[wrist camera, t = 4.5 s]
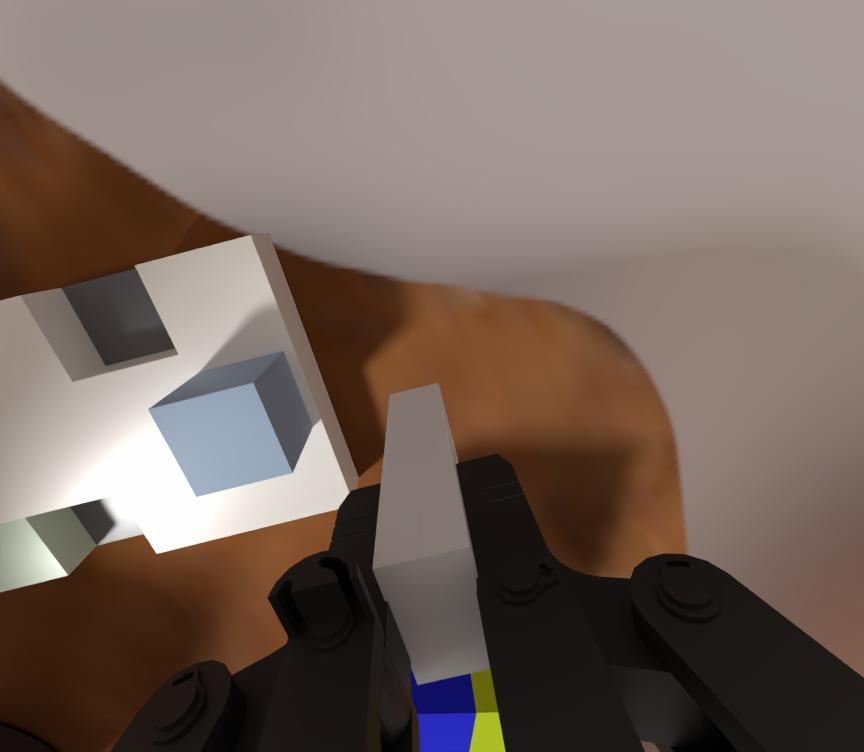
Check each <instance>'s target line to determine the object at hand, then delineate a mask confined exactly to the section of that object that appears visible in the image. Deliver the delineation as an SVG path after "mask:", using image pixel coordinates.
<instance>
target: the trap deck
mask: <svg viewBox="0 0 864 752" xmlns="http://www.w3.org/2000/svg"><path fill="white" fill-rule="evenodd" d="M135 267H136V268H135V269H131V270H127V271H123V272H120V273H116V274H112V275H108V276H104V277H100V278H97V279H93V280H89V281H85V282H81V283H78V284H74V285H70V286H66V287H62V288H57V289H52V290H46V291H41V292H36V293H30V294H25V295H20V296H16V297H12V298H8V299H4V300H0V592H4V591H8V590H12V589H16V588H20V587H24V586H28V585H32V584H36V583H40V582H44V581H48V580H52V579H56V578H60V577H64V576H68V575H69V574H70V573H71V572H72V571H73V570H74V569H75V568H76V567H77V566H78V565H79V564H80V563H81V562H82V561H83V560H84V559H85V558H86V556H87V555H88V554H89V553H90V552H91V551H92V550H93V549H94V548H95V547H96V546H97V545H101V544H105V543H109V542H113V541H117V540H121V539H125V538H129V537H133V536H137V535H141V534H145V536H146V538H147V539H148V541H149V542H150V544H151V545H152V547H153V549H154V550H155V552H156V553H157V554H158V553H162V552H166V551H170V550H174V549H178V548H182V547H186V546H190V545H194V544H198V543H202V542H206V541H210V540H214V539H219V538H223V537H227V536H231V535H235V534H239V533H243V532H247V531H251V530H255V529H259V528H263V527H267V526H271V525H275V524H279V523H283V522H287V521H291V520H296V519H300V518H304V517H308V516H312V515H316V514H320V513H324V512H328V511H332V510H336V509H339V506H340V505H341V504H342V502H343V501H344V500H345V498H346V497H347V495H348V494H349V493H350V491H351V490H355V489H357V485H358V479H359V477H358V474H357V472H356V469H355V466H354V463H353V461H352V458H351V455H350V452H349V450H348V447H347V444H346V442H345V439H344V436H343V433H342V431H341V428H340V425H339V422H338V420H337V417H336V414H335V412H334V409H333V406H332V403H331V401H330V398H329V395H328V392H327V390H326V387H325V384H324V382H323V379H322V376H321V373H320V371H319V368H318V365H317V362H316V360H315V357H314V354H313V352H312V349H311V346H310V343H309V341H308V338H307V335H306V332H305V330H304V327H303V324H302V322H301V319H300V316H299V313H298V311H297V308H296V305H295V302H294V300H293V297H292V294H291V292H290V289H289V286H288V283H287V281H286V278H285V275H284V272H283V270H282V267H281V264H280V262H279V259H278V256H277V253H276V251H275V248H274V245H273V242H272V240H271V237H270V234H257V235H248V236H245V237H241V238H237V239H233V240H229V241H226V242H222V243H218V244H214V245H210V246H207V247H203V248H199V249H195V250H191V251H187V252H184V253H180V254H176V255H172V256H168V257H165V258H161V259H157V260H153V261H149V262H145V263H142V264H138V265H135ZM280 351H284V354H285V356H286V359H287V361H288V364H289V366H290V369H291V371H292V374H293V376H294V379H295V382H296V384H297V387H298V389H299V392H300V394H301V397H302V399H303V402H304V404H305V407H306V409H307V412H308V415H309V417H310V420H311V422H312V425H313V428H312V430H311V433H310V435H309V437H308V439H307V442H306V444H305V446H304V448H303V451H302V453H301V455H300V458H299V460H298V462H297V464H296V467H295V469H294V471H293V473H291V474H287V475H283V476H279V477H275V478H271V479H267V480H263V481H259V482H255V483H251V484H247V485H243V486H239V487H235V488H231V489H227V490H223V491H219V492H215V493H211V494H207V495H203V496H199V497H196V496H195V494H194V492H193V490H192V489H191V487H190V485H189V483H188V481H187V479H186V478H185V476H184V474H183V472H182V470H181V469H180V467H179V465H178V463H177V461H176V460H175V458H174V456H173V454H172V452H171V450H170V449H169V447H168V445H167V443H166V441H165V440H164V438H163V436H162V434H161V432H160V430H159V429H158V427H157V425H156V423H155V421H154V420H153V418H152V416H151V414H150V412H149V411H148V409H149V408H151V407H152V406H153V405H155V404H156V403H157V402H159V401H160V400H162V399H163V398H164V397H166V396H167V395H168V394H170V393H171V392H173V391H174V390H175V389H177V388H178V387H179V386H181V385H182V384H184V383H185V382H186V381H188V380H189V379H191V378H192V377H193V376H195V375H196V374H197V373H199V372H202V371H206V370H210V369H214V368H218V367H222V366H226V365H229V364H233V363H237V362H241V361H245V360H249V359H253V358H257V357H261V356H265V355H269V354H272V353H276V352H280Z"/></svg>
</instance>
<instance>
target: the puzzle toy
mask: <svg viewBox="0 0 864 752" xmlns="http://www.w3.org/2000/svg"><path fill="white" fill-rule="evenodd" d="M411 698H412V700H413V703H414V705H415V708H416V711H417V716H418V721H419V737H420V752H505V747H504V741H503V736H502V730H501V725H500V719H499V714H498V708H497V703H496V697H495V692H494V687H493V681H492V676H491V670H490V669H487V670H483V671H478V672H474V673H469V674H465V675H460V676H456V677H451V678H447V679H443V680H438V681H434V682H429V683H425V684H420V685H418V684H417V682H416V679H415V677H414V674H413V672H412V669H411Z"/></svg>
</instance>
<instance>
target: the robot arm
mask: <svg viewBox="0 0 864 752" xmlns="http://www.w3.org/2000/svg"><path fill="white" fill-rule="evenodd" d="M268 599H269V601H270V603H271V605H272V607H273V609H274V611H275V613H276V614H277V616H278V618H279V620H280V622H281V624H282V626H283V627H284V629H285V631H286V633H287V635H288V637H289V638H288V641H287V644H285V645H284V646H283V647H281V648H280V649H278V650H277V651H275V652H273V653H272V654H270V655H268V656H267V657H265V658H263V659H261V660H259V661H257V662H255V663H254V664H252V665H250V666H248V667H246V668H244V669H243V670H241V671H239V672H237V673H235V674H233V675H231V673H230V671H229V670H228V668H227V667H226V665H225V664H223V663H220V662H217V661H214V660H210V661H204V662H199V663H195V664H194V665H192V666H190V667H188V668H186V669H184V670H182V671H180V672H178V673H177V674H176V675H174V676H173V677H172V678H171V679H169V680H168V681H167V682H166V683H165V684H163V685H162V686H161V687H160V688H158V690H157V691H156V692H155V693H154V694H153V695H152V697H151V698H150V699H149V700H148V701H147V702H146V704H145V705H144V706H143V707H142V708H141V709H140V711H139V712H138V714H137V715H136V716H135V718H134V719H133V721H132V722H131V723H130V725H129V726H128V728H127V729H126V730H125V732H124V733H123V735H122V736H121V737H120V739H119V740H118V742H117V743H116V744H115V746H114V747H113V748H112V750H111V751H110V752H420V737H419V721H418V716H417V711H416V708H415V705H414V703H413V700H412V698H411V669H412V672H413V674H414V677H415V679H416V682H417V684H418V685H420V684H425V683H429V682H434V681H438V680H443V679H447V678H451V677H456V676H460V675H465V674H469V673H474V672H478V671H483V670H487V669H490V670H491V676H492V681H493V687H494V692H495V697H496V703H497V708H498V714H499V719H500V725H501V730H502V736H503V741H504V747H505V752H645V751H644V748H643V746H642V744H641V742H640V740H641V741H646V742H651V743H655V745H656V747H657V748H658V750H659V751H660V752H864V678H863V677H862V676H860V675H859V674H858V673H857V672H855V671H854V670H853V669H851V668H850V667H849V666H848V665H846V664H845V663H844V662H842V661H841V660H840V659H838V658H837V657H836V656H835V655H833V654H832V653H831V652H829V651H828V650H827V649H826V648H824V647H823V646H822V645H820V644H819V643H818V642H817V641H815V640H814V639H813V638H811V637H810V636H809V635H807V634H806V633H805V632H803V631H802V630H801V629H800V628H798V627H797V626H796V625H794V624H793V623H792V622H790V621H789V620H788V619H787V618H785V617H784V616H783V615H781V614H780V613H779V612H777V611H776V610H775V609H774V608H772V607H771V606H769V605H768V604H767V603H766V602H764V601H763V600H762V599H761V598H759V597H758V596H757V595H755V594H754V593H753V592H751V591H750V590H749V589H748V588H746V587H745V586H744V585H742V584H741V583H740V582H738V581H737V580H736V579H735V578H733V577H732V576H731V575H729V574H728V573H727V572H725V571H723V570H721V569H720V568H718V567H716V566H715V565H713V564H711V563H709V562H708V561H705V560H702V559H698V558H695V557H692V556H689V555H685V554H665V553H664V554H660V555H657V556H653V557H649V558H646V559H645V560H644V561H643V562H641V563H640V564H639V565H638V566H636V567H635V568H634V571H633V573H632V576H631V578H630V579H628V578H612V577H599V576H592V575H586V574H583V573H580V572H577V571H574V570H572V569H570V568H568V567H567V566H565V565H563V564H562V563H560V562H559V561H558V560H557V559H556V558H555V557H554V556H553V555H552V554H551V552H550V551H549V549H548V547H547V546H546V543H545V541H544V539H543V536H542V534H541V532H540V530H539V527H538V525H537V523H536V520H535V518H534V516H533V513H532V511H531V509H530V506H529V504H528V502H527V499H526V497H525V495H524V493H523V490H522V488H521V485H520V483H519V482H518V478H517V476H516V474H515V471H514V469H513V467H512V464H510V463H509V462H508V461H506V460H505V459H504V458H502V457H501V456H500V455H498V454H494V455H490V456H486V457H482V458H478V459H473V460H469V461H465V462H461V463H459V462H458V458H457V454H456V450H455V446H454V442H453V438H452V434H451V431H450V427H449V423H448V419H447V415H446V411H445V407H444V403H443V399H442V395H441V392H440V388H439V384H438V383H436V384H432V385H428V386H424V387H420V388H416V389H412V390H407V391H403V392H399V393H395V394H391V395H390V398H389V408H388V418H387V428H386V438H385V448H384V458H383V468H382V478H381V483H380V484H376V485H372V486H368V487H363V488H359V489H355V490H351V491H350V493H349V494H348V495H347V497H346V498H345V500H344V501H343V502H342V504H341V505H340V506H339V510H338V514H337V518H336V522H335V528H334V530H333V535H332V542H331V543H330V547H329V551H322V552H319V553H316V554H314V555H311V556H308V557H306V558H304V559H303V560H301V561H300V562H298V563H297V564H295V565H294V566H292V567H291V568H289V569H288V570H287V571H286V572H285V573H284V575H283V576H282V577H281V578H280V579H279V580H278V581H277V582H276V583H275V585H274V587H273V589H272V591H271V592H270V594H269V596H268ZM0 752H53V751H52V750H51V749H50V748H48V747H47V746H45V745H44V744H42V743H41V742H39V741H37V740H35V739H33V738H31V737H29V736H27V735H25V734H23V733H21V732H18V731H16V730H13V729H10V728H7V727H4V726H1V725H0Z"/></svg>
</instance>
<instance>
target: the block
mask: <svg viewBox="0 0 864 752" xmlns="http://www.w3.org/2000/svg"><path fill="white" fill-rule="evenodd" d="M148 411H149V412H150V414H151V416H152V418H153V420H154V421H155V423H156V425H157V427H158V429H159V430H160V432H161V434H162V436H163V438H164V440H165V441H166V443H167V445H168V447H169V449H170V450H171V452H172V454H173V456H174V458H175V460H176V461H177V463H178V465H179V467H180V469H181V470H182V472H183V474H184V476H185V478H186V479H187V481H188V483H189V485H190V487H191V489H192V490H193V492H194V494H195V496H196V497H199V496H203V495H207V494H211V493H215V492H219V491H223V490H227V489H231V488H235V487H239V486H243V485H247V484H251V483H255V482H259V481H263V480H267V479H271V478H275V477H279V476H283V475H287V474H291V473H293V471H294V469H295V467H296V464H297V462H298V460H299V458H300V455H301V453H302V451H303V448H304V446H305V444H306V442H307V439H308V437H309V435H310V433H311V430H312V428H313V425H312V422H311V420H310V417H309V415H308V412H307V409H306V407H305V404H304V402H303V399H302V397H301V394H300V392H299V389H298V387H297V384H296V382H295V379H294V376H293V374H292V371H291V369H290V366H289V364H288V361H287V359H286V356H285V354H284V351H280V352H276V353H272V354H269V355H265V356H261V357H257V358H253V359H249V360H245V361H241V362H237V363H233V364H229V365H226V366H222V367H218V368H214V369H210V370H206V371H202V372H199V373H197V374H196V375H195V376H193V377H192V378H191V379H189V380H188V381H186V382H185V383H184V384H182V385H181V386H179V387H178V388H177V389H175V390H174V391H173V392H171V393H170V394H168V395H167V396H166V397H164V398H163V399H162V400H160V401H159V402H157V403H156V404H155V405H153V406H152V407H151V408H149V409H148Z"/></svg>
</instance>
